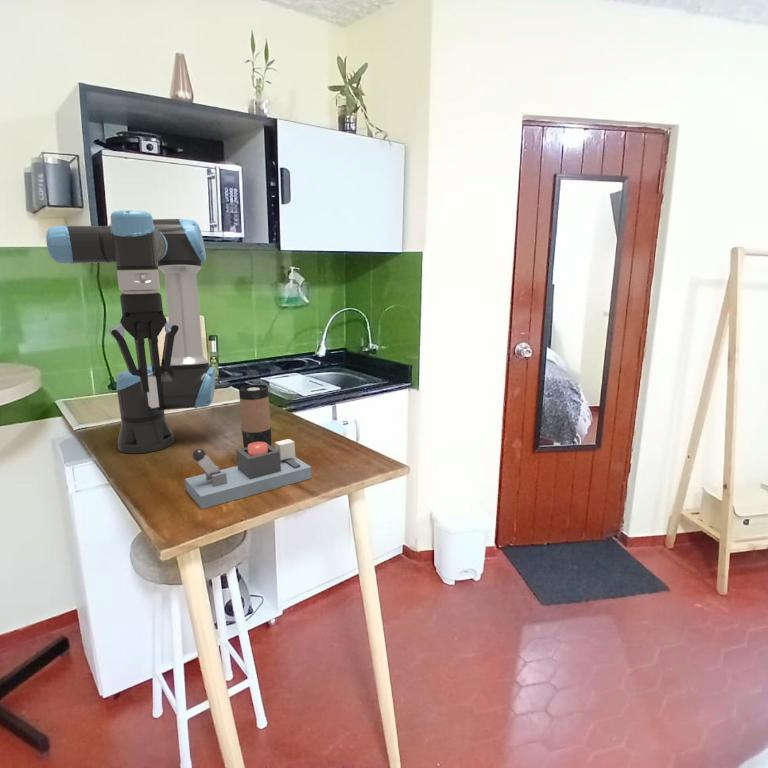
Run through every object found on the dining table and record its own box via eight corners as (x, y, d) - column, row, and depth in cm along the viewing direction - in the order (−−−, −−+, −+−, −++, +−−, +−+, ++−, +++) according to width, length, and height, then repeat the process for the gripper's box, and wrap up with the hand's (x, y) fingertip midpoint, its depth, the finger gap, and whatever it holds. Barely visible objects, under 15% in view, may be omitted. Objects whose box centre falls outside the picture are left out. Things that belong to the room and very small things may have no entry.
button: (246, 465, 126) (244, 444, 125) (264, 461, 129) (262, 440, 128) (253, 471, 123) (252, 449, 121) (271, 466, 125) (270, 445, 124)
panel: (185, 490, 122) (182, 458, 120) (289, 463, 138) (288, 435, 136) (202, 509, 113) (198, 475, 111) (311, 478, 128) (310, 447, 126)
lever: (209, 477, 120) (188, 452, 116) (218, 469, 121) (198, 444, 117) (213, 481, 118) (192, 456, 114) (222, 472, 119) (202, 448, 115)
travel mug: (278, 457, 142) (274, 386, 138) (254, 465, 137) (249, 392, 132) (262, 451, 147) (257, 382, 142) (238, 458, 142) (232, 387, 137)
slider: (275, 456, 132) (274, 442, 131) (289, 453, 134) (289, 438, 133) (280, 460, 130) (279, 445, 129) (295, 456, 132) (294, 441, 131)
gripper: (107, 294, 97) (123, 415, 102) (179, 291, 104) (190, 404, 109) (100, 293, 102) (116, 407, 108) (169, 290, 110) (180, 397, 115)
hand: (153, 406), depth 109 cm, fingers closed
